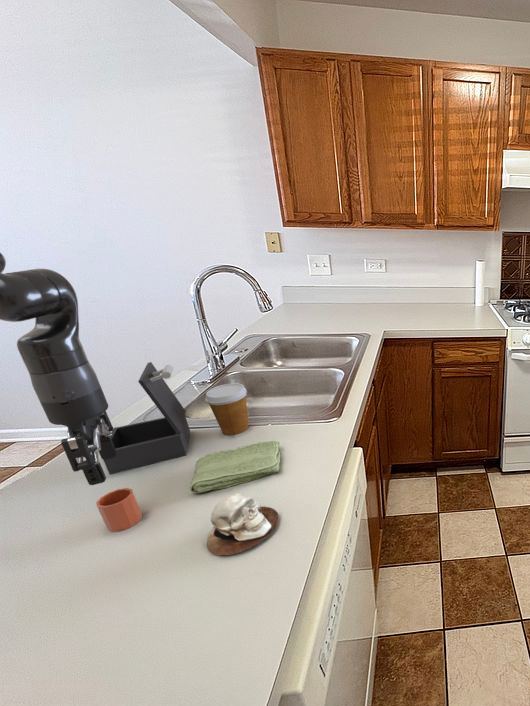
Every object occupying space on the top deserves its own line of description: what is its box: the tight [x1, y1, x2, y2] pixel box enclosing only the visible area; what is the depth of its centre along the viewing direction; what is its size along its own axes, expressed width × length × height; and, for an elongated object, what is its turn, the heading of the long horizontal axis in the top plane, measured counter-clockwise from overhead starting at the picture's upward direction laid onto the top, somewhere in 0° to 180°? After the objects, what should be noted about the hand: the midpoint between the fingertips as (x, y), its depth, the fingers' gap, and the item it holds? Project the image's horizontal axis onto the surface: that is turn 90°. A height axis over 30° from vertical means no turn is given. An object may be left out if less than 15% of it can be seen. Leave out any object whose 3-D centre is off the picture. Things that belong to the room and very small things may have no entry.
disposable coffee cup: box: [204, 382, 250, 436], centre depth 107 cm, size 10×10×12 cm
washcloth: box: [189, 440, 281, 494], centre depth 92 cm, size 13×18×3 cm
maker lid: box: [138, 361, 186, 434], centre depth 97 cm, size 15×13×5 cm
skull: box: [205, 492, 280, 556], centre depth 74 cm, size 12×10×10 cm
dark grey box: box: [103, 415, 191, 475], centre depth 98 cm, size 15×13×6 cm
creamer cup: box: [96, 487, 143, 533], centre depth 76 cm, size 5×5×6 cm
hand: (104, 469), depth 73 cm, fingers open, 8 cm apart
